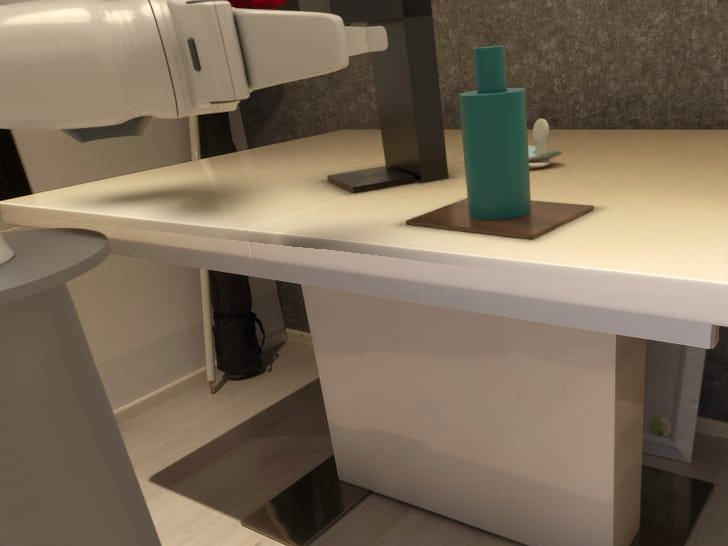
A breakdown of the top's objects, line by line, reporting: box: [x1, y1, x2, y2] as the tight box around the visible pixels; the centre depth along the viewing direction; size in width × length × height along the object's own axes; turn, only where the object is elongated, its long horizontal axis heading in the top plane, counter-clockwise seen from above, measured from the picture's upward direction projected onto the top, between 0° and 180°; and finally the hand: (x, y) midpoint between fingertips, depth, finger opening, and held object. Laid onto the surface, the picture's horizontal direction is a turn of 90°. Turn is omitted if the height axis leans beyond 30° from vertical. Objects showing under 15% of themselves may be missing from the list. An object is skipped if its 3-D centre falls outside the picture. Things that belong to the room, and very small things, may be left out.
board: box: [405, 197, 595, 240], centre depth 72 cm, size 12×16×1 cm
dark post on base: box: [297, 0, 449, 194], centre depth 91 cm, size 14×14×26 cm
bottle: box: [458, 45, 532, 220], centre depth 68 cm, size 7×7×16 cm
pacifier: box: [528, 117, 563, 169], centre depth 95 cm, size 7×6×6 cm
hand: (365, 40), depth 59 cm, fingers open, 8 cm apart
